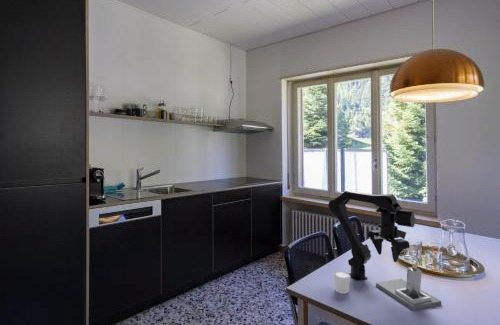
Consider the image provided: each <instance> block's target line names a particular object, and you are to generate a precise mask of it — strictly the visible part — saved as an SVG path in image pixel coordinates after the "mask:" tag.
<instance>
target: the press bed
mask: <svg viewBox="0 0 500 325" xmlns="http://www.w3.org/2000/svg"><path fill="white" fill-rule="evenodd" d="M406 282H407V280H404V279H403V278H397V279H390V280H385V281H378V282H375V287H376V288H378V289H379V290H381V291H383V292H385V293H386V294H388V295H389V296H390V297H392V298H394V299H395V300H396V301H398V302H400V303H401V304H403V305H404V306H406V307H408V308H409V309H410V310H412V311H417V310H423V309H427V308H431V307H432V308H433V307H436V306H441V305H442V300H441V299H439V298H437V297H435V296H433V295H431V294H429V293H428V292H425V291H424V290H422V289H421V288H420V298H417V299H412V298H410V297H409V296H407V295H406Z"/></svg>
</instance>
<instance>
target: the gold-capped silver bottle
mask: <svg viewBox="0 0 500 325" xmlns="http://www.w3.org/2000/svg"><path fill="white" fill-rule="evenodd" d="M411 265H412V266H409V267H406V269H407V271H406V295H407V296H409V297H410V298H412V299H417V298H420V289H421V285H422V284H421V283H422V272H423V271H422V270H421V269H420V268H418V264H417V263H415V262H413V263H412V264H411Z"/></svg>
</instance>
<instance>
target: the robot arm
mask: <svg viewBox="0 0 500 325" xmlns="http://www.w3.org/2000/svg"><path fill="white" fill-rule="evenodd" d="M350 200H351V201H356V202H357V201H358V202H360V203H361V202H362V203H368V204H372V205H374V206H376V207H378V208H377V209H375V212H376V213H380V224H378V225H377V226H378V228H380V230H379V229H374V230H369V231H368V233H367V237H368V238H369V239H370V240H371V242H372V244H373V246H374V248H375V250H376V252H377V254H378V255H379V256H380V255H382V251H383V243H384V241H386V242H389V243H390V245H391V247H390V249H391V256H392V258H393V259H392V260H393V262H394V263H397V261H398V260H399V258H400V255H401V253H402V251H403V250H406V249H409V248H410V242H409V240H406V239H405V238H406V236H407V232H406V231H404V230H400V229H398V226H403V227H408V228H414V227H415V225H416V217H415V213H414V210H412V209H411V210H406V209H405V210H404V209H403V208H402V206H401V204H399V203H398V201H397V197H396V196H395V195H394V194H392V193H389V194H388V193H386V194H385V193H383V194H381V193H380V194H373V193H372V194H371V193H365V192H359V191H352V190H346V191H344V192H342V193H341V194H339V196H337V197H336V198H334V199H331V200H329V202H328V204H327V205H328V206H327V207H328V209H329V210H330V212H331V213H332V214H333V215H334V216H335V218H337V220H338V221H339V223H340V226H341V228H342V229H343V232H344V234H345V237H346V238H347V240H348V242H349V244H350V249H351V250H350V251H351V256H352V257H351V258H350V259H348V260H347V262H348V266H350V273H349V272H347V273H348V274H349V275H350V276H351V277H350V278H351V279H353V280H355V281H360V280H361V281H362V280H367V279H368V277H367V276H366V266H365V264H367V263H368V261H370V260H371V258H372V254H371V252H372V251H371V249H370V248H369V246H368V245H369V244H367V243H365V244H363V243H362V242H361V240H360V238H359V236H358V234H357V232H356V230H355V228H354V226H353V224H352V222H351V220H350V218H349V216H348V212H347V206H346V205H347V204H348V203H349V202H350ZM396 224H397V225H396Z"/></svg>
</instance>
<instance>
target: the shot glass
mask: <svg viewBox="0 0 500 325" xmlns="http://www.w3.org/2000/svg"><path fill="white" fill-rule="evenodd" d="M348 273H349V272H345V271H335V272H334V273H333V280H334V290H335V291H336V293H338V294H342V295H343V294H348V293H349V292H350V283H351V278H352V277H351V276H350V275H349V274H348Z"/></svg>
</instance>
